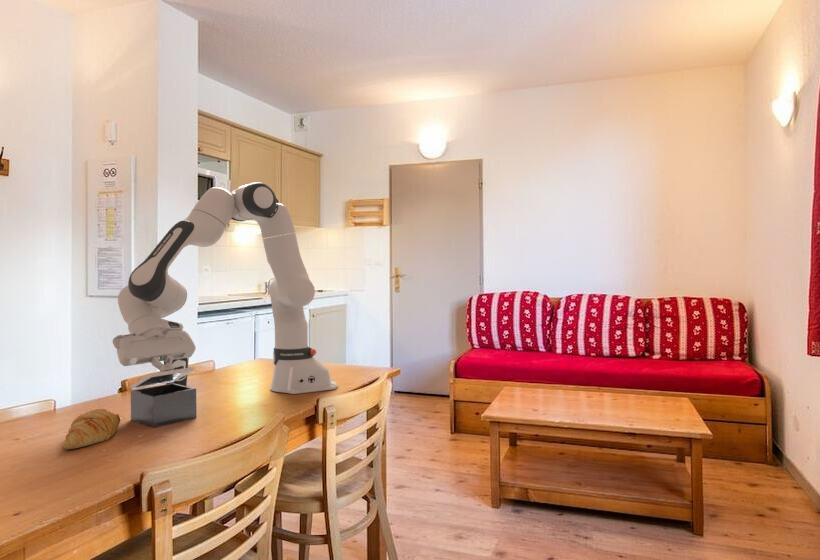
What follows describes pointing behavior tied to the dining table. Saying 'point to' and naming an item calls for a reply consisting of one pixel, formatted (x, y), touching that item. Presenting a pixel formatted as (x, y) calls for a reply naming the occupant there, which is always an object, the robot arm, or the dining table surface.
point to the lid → (161, 377)
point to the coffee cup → (180, 365)
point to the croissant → (91, 428)
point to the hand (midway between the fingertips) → (167, 371)
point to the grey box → (163, 404)
